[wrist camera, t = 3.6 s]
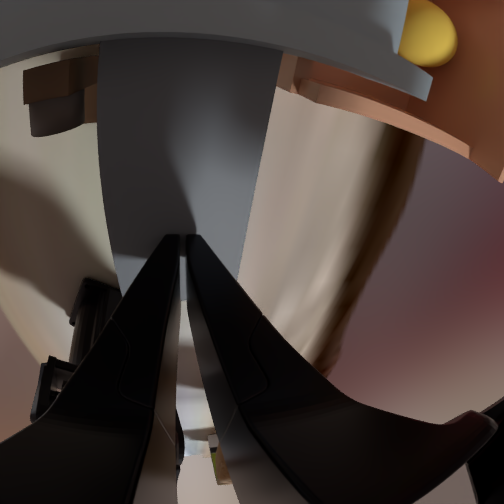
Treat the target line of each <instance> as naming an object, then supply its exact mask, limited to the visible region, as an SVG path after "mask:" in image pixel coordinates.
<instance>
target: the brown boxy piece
mask: <svg viewBox="0 0 504 504" xmlns="http://www.w3.org/2000/svg"><path fill="white" fill-rule="evenodd" d="M428 1H430V2H432V3H433V4H435V5H437V6H438V7H439V8H440V9H442V10H443V11H444V12H445V13H446V14H447V16H448V17H449V18H450V19H451V21H452V23H453V25H454V27H455V29H456V32H457V37H458V45H457V50H456V52H455V55H454V56H453V58H452V59H451V60H450V61H448V62H447V63H445V64H443V65H441V66H438V67H422V66H418V65H416V66H417V67H419V68H420V69H422V70H423V71H425V72H426V73H428V74H429V75H430V76H432V77H433V80H432V83H431V87H430V90H429V94H428V97H427V100H426V101H424V100H422V99H419V98H417V97H415V96H412V95H410V94H408V93H405V92H403V91H400V90H397V89H395V88H392V87H389V86H387V85H384V84H381V83H378V82H375V81H372V80H369V79H366V78H364V77H361V76H359V75H356V74H353V73H350V72H348V71H345V70H342V69H339V68H336V67H333V66H330V65H326V64H323V63H320V62H316V61H313V60H309V59H306V58H302V57H298V56H294V55H290V54H285V53H283V56H282V60H281V65H280V70H279V74H278V79H277V84H276V86H277V87H280V88H282V89H284V90H286V91H288V92H290V93H296V94H299V95H301V96H303V97H305V98H307V99H309V100H311V101H313V102H315V103H319V104H323V105H327V106H331V107H335V108H339V109H342V110H346V111H350V112H353V113H357V114H360V115H363V116H366V117H370V118H373V119H376V120H379V121H382V122H385V123H387V124H390V125H393V126H396V127H399V128H401V129H404V130H406V131H409V132H412V133H414V134H417V135H419V136H421V137H424V138H426V139H428V140H431V141H433V142H435V143H438V144H440V145H442V146H444V147H446V148H448V149H451V150H453V151H455V152H457V153H459V154H461V155H463V156H464V157H466V158H468V159H470V160H471V161H473V162H474V163H475V164H477V165H478V166H479V167H481V168H482V169H483V170H485V171H486V172H487V173H489V174H490V175H491V176H492V177H494V178H495V179H496V180H497V181H499V182H500V183H503V181H504V0H428ZM412 64H413V63H412ZM414 65H415V64H414Z"/></svg>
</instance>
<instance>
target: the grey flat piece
mask: <svg viewBox="0 0 504 504" xmlns="http://www.w3.org/2000/svg"><path fill="white" fill-rule="evenodd" d="M408 2H409V0H0V68H2V67H4V66H7V65H10V64H13V63H16V62H19V61H22V60H25V59H29V58H32V57H36V56H39V55H43V54H47V53H51V52H55V51H60V50H64V49H69V48H75V47H80V46H86V45H93V44H100V49H99V61H98V77H97V137H98V154H99V167H100V178H101V187H102V195H103V203H104V210H105V216H106V223H107V229H108V234H109V240H110V245H111V250H112V255H113V260H114V264H115V269H116V273H117V277H118V281H119V286H120V289H121V293H122V297H123V296H124V294H125V293H126V291H127V290H128V288H129V286H130V285H131V283H132V282H133V280H134V279H135V277H136V276H137V274H138V273H139V271H140V270H141V268H142V267H143V265H144V264H145V262H146V261H147V259H148V258H149V257H150V255H151V254H152V252H153V251H154V249H155V248H156V247H157V245H158V244H159V242H160V241H161V239H162V238H163V237H164V235H166V234H178V235H179V236H180V292H181V301H184V300H187V298H186V271H185V243H186V235H187V234H200V235H201V236H202V237H203V238H204V240H205V241H206V242H207V244H208V245H209V246H210V247H211V249H212V250H213V251H214V253H215V254H216V255H217V257H218V258H219V259H220V260H221V262H222V263H223V264H224V265H225V267H226V268H227V269H228V271H229V272H230V273H231V274H232V276H233V277H234V278H235V279H236V281H237V278H238V273H239V268H240V262H241V257H242V252H243V247H244V242H245V237H246V232H247V226H248V221H249V216H250V211H251V206H252V201H253V196H254V191H255V186H256V181H257V176H258V171H259V166H260V161H261V156H262V151H263V146H264V142H265V137H266V132H267V127H268V122H269V117H270V112H271V108H272V103H273V98H274V93H275V89H276V84H277V79H278V74H279V70H280V65H281V60H282V56H283V53H285V54H290V55H294V56H298V57H302V58H306V59H309V60H313V61H316V62H320V63H323V64H326V65H330V66H333V67H336V68H339V69H342V70H345V71H348V72H350V73H353V74H356V75H359V76H361V77H364V78H366V79H369V80H372V81H375V82H378V83H381V84H384V85H387V86H389V87H392V88H395V89H397V90H400V91H403V92H405V93H408V94H410V95H412V96H415V97H417V98H419V99H422V100H424V101H426V100H427V97H428V94H429V90H430V87H431V83H432V80H433V77H432V76H430V75H429V74H428V73H426V72H425V71H423V70H422V69H420V68H419V67H417V66H416V65H414V64H412V63H411V62H409V61H408V60H406V59H404V58H403V57H401V56H399V55H398V54H397V53H398V49H399V45H400V41H401V36H402V32H403V27H404V22H405V18H406V12H407V7H408Z"/></svg>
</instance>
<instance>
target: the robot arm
mask: <svg viewBox="0 0 504 504" xmlns="http://www.w3.org/2000/svg"><path fill="white" fill-rule="evenodd" d="M185 271H186V298H187V310H188V317H189V322H190V327H191V332H192V337H193V341H194V346H195V351H196V355H197V360H198V364H199V368H200V373H201V377H202V381H203V385H204V389H205V393H206V397H207V401H208V404H209V408H210V412H211V416H212V419H213V423H214V426H215V430H216V433H217V437H218V440H219V443H220V447H221V450H222V453H223V456H224V459H225V463H226V466H227V469H228V472H229V475H230V478H231V481H232V483H233V486H234V489H235V492H236V494H237V497H238V500H239V503H240V504H504V397H502V398H501V399H500V400H498V401H497V402H495V403H494V404H492V405H491V406H489V407H487V408H486V409H485V410H483V411H481V412H480V413H479V412H476V411H473V410H470V411H467V412H465V413H463V414H461V415H459V416H457V417H455V418H454V419H452V420H450V421H448V422H446V423H444V424H433V423H428V422H424V421H420V420H415V419H412V418H408V417H404V416H401V415H397V414H394V413H390V412H386V411H383V410H380V409H377V408H374V407H371V406H367V405H365V404H362V403H359V402H357V401H355V400H353V399H351V398H350V397H348V396H346V395H345V394H344V393H342V392H340V390H338V389H337V388H336V387H335V386H334V385H332V384H331V383H330V382H329V381H328V380H327V379H326V378H325V377H324V376H323V375H322V374H321V373H319V372H318V371H317V370H316V369H315V368H314V367H313V366H312V365H311V364H310V363H309V362H308V361H306V360H305V359H304V358H303V357H302V356H301V355H300V354H299V353H298V352H297V351H296V350H295V349H294V348H293V347H292V346H291V345H290V344H289V343H288V342H287V341H286V340H285V339H284V338H283V337H282V336H281V334H280V333H279V332H278V331H277V330H276V329H275V328H274V326H273V325H272V324H271V323H270V322H269V320H268V319H267V318H266V317H265V316H264V315H262V312H261V311H260V309H259V308H258V307H257V306H256V304H255V303H254V302H253V301H252V299H251V298H250V297H249V296H248V295H247V293H246V292H245V291H244V290H243V288H242V287H241V286H240V284H239V283H238V282H237V281H236V279H235V278H234V277H233V276H232V274H231V273H230V272H229V271H228V269H227V268H226V267H225V265H224V264H223V263H222V262H221V260H220V259H219V258H218V257H217V255H216V254H215V253H214V251H213V250H212V249H211V247H210V246H209V245H208V244H207V242H206V241H205V240H204V238H203V237H202V236H201V235H200V234H187V235H186V243H185ZM180 316H181V292H180V236H179V235H178V234H166V235H164V237H163V238H162V239H161V241H160V242H159V244H158V245H157V247H156V248H155V249H154V251H153V252H152V254H151V255H150V257H149V258H148V259H147V261H146V262H145V264H144V265H143V267H142V268H141V270H140V271H139V273H138V274H137V276H136V277H135V279H134V280H133V282H132V283H131V285H130V286H129V288H128V290H127V291H126V293H125V294H124V296H123V297H122V293H121V290H118V289H115V288H113V287H110V286H107V285H105V284H102V283H100V282H97V281H95V280H92V279H90V278H85V279H83V281H82V284H81V287H80V289H79V292H78V295H77V298H76V301H75V304H74V307H73V310H72V313H71V316H70V320H69V323H70V325H72V326H74V327H75V328H74V333H73V339H72V344H71V351H70V357H69V362H65V361H62V360H58V359H57V358H56V357H53V356H50V355H49V358H48V362H47V363H41V368H40V375H39V381H38V386H37V390H36V393H35V397H34V401H33V405H32V409H31V415H30V421H31V423H32V424H31V425H29V426H27V427H26V428H24V429H23V430H21V431H19V432H17V433H16V434H14V435H12V436H11V437H9V438H7V439H6V440H4V441H2V442H1V443H0V504H178V502H177V480H178V476H179V473H180V465H181V464H182V461H183V458H184V450H185V445H184V435H183V431H182V427H181V424H180V420H179V417H178V413H177V409H176V381H177V360H178V343H179V329H180ZM57 388H58V389H61V392H58V391H57Z"/></svg>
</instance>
